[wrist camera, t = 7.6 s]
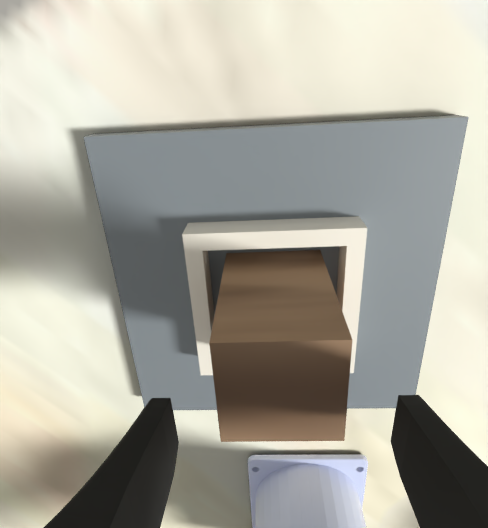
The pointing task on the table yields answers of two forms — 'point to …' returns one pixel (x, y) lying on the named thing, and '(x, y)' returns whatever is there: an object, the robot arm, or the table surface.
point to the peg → (279, 349)
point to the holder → (278, 236)
